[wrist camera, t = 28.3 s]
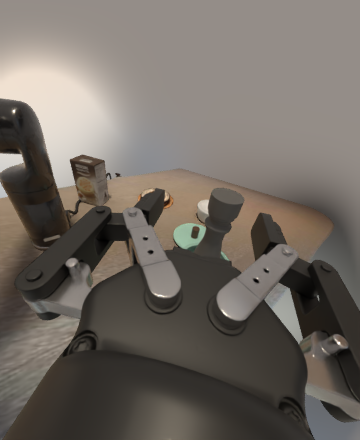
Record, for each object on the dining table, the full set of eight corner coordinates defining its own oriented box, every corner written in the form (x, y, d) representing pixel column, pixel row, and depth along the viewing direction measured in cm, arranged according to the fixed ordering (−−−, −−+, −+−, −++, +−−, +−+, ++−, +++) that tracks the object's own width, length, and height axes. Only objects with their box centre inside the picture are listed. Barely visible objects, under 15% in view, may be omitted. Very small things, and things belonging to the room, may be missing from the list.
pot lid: (168, 227, 60) (169, 217, 57) (203, 223, 65) (205, 214, 62) (181, 258, 50) (183, 247, 47) (221, 250, 55) (225, 240, 52)
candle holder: (185, 269, 46) (207, 185, 31) (207, 270, 47) (238, 189, 32) (187, 290, 41) (214, 203, 27) (212, 291, 42) (251, 207, 27)
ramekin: (227, 218, 70) (231, 207, 67) (215, 231, 62) (219, 219, 59) (203, 207, 74) (206, 196, 71) (190, 218, 67) (192, 206, 63)
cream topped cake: (160, 213, 66) (160, 204, 64) (130, 200, 71) (130, 191, 68) (179, 199, 77) (180, 191, 74) (152, 188, 82) (152, 180, 79)
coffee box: (78, 201, 65) (67, 159, 56) (89, 194, 70) (81, 154, 61) (100, 207, 64) (93, 165, 55) (110, 199, 69) (105, 159, 60)
